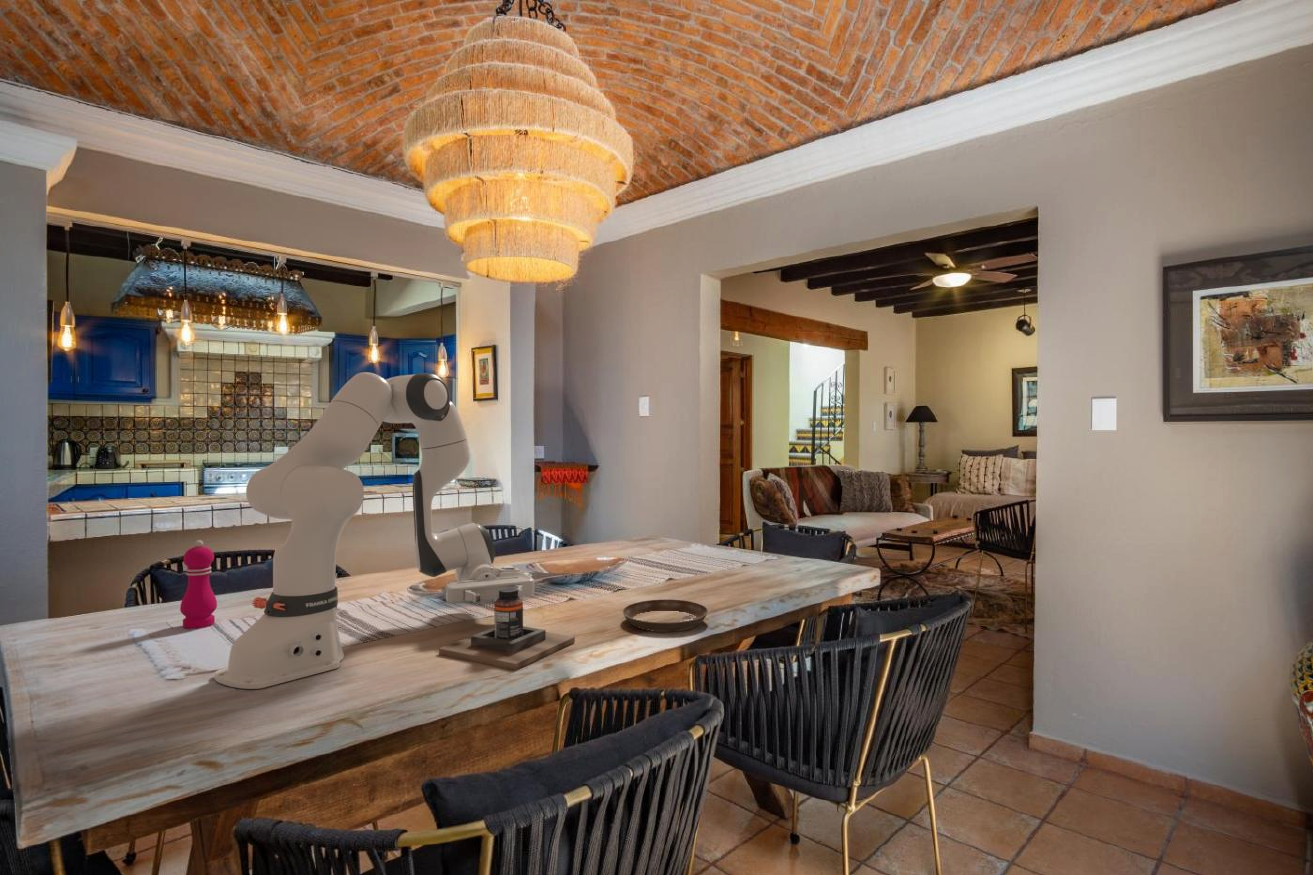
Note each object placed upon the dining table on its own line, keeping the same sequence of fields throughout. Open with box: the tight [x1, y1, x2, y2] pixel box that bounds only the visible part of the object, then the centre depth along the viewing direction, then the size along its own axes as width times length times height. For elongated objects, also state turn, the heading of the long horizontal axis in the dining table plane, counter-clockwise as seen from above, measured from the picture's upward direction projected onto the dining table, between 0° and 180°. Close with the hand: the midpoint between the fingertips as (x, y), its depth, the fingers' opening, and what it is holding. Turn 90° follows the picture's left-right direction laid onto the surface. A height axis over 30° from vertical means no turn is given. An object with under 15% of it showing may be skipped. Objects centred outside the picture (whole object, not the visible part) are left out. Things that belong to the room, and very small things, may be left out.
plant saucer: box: [622, 599, 709, 633], centre depth 168 cm, size 21×21×3 cm
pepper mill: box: [179, 539, 218, 629], centre depth 163 cm, size 7×7×20 cm
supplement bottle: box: [493, 587, 524, 641], centre depth 147 cm, size 6×6×11 cm
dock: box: [438, 625, 576, 671], centre depth 147 cm, size 20×20×3 cm
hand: (498, 596), depth 155 cm, fingers open, 8 cm apart
